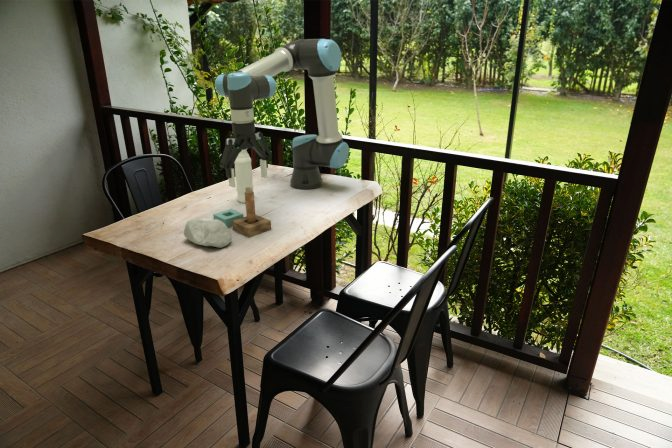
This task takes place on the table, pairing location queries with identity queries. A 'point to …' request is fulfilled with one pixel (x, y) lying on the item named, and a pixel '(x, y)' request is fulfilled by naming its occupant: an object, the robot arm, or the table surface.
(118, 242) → the table surface
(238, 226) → the brown square socket block
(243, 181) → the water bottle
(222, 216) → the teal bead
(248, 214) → the brown wooden square peg
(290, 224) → the table surface
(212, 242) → the decorative stone
